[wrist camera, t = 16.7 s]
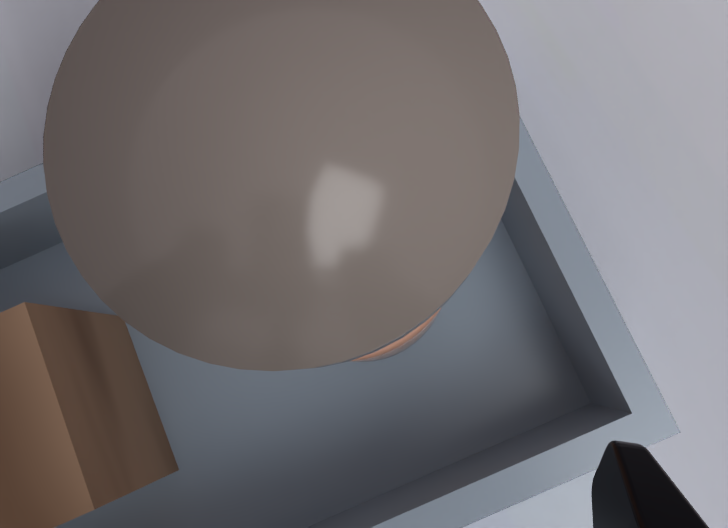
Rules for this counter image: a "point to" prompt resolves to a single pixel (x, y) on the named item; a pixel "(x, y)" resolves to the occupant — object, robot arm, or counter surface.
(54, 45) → the counter surface
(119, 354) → the cube
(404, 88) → the shaker
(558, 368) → the tote
